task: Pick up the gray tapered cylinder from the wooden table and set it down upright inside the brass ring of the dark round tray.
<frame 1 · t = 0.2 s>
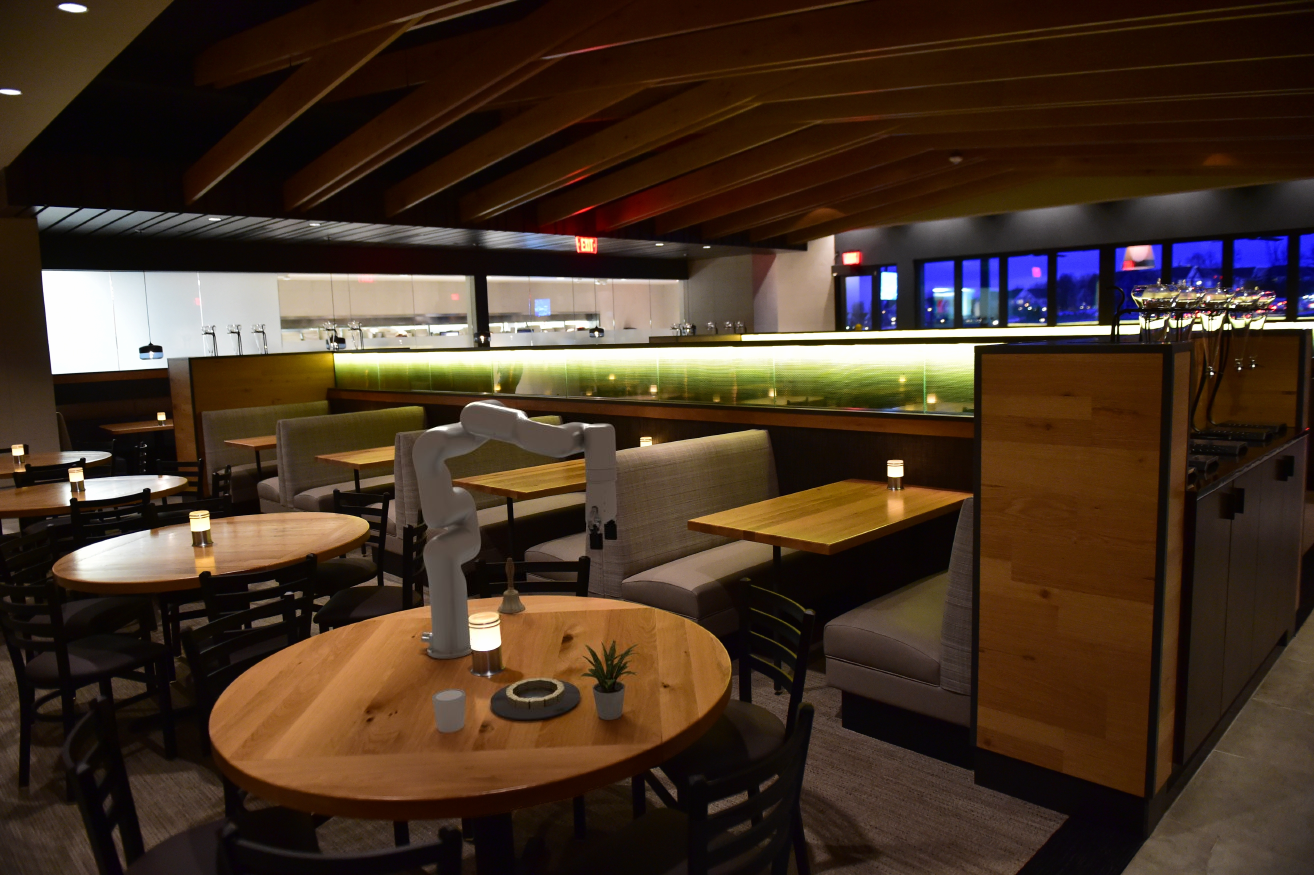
hand: (603, 544, 205), 31 cm above the table, tool pointing down, fingers open, 9 cm apart
gray tapered cylinder: (451, 727, 179), on the table
hand bell: (511, 610, 257), on the table
house plant: (613, 717, 181), on the table
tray: (535, 701, 191), on the table
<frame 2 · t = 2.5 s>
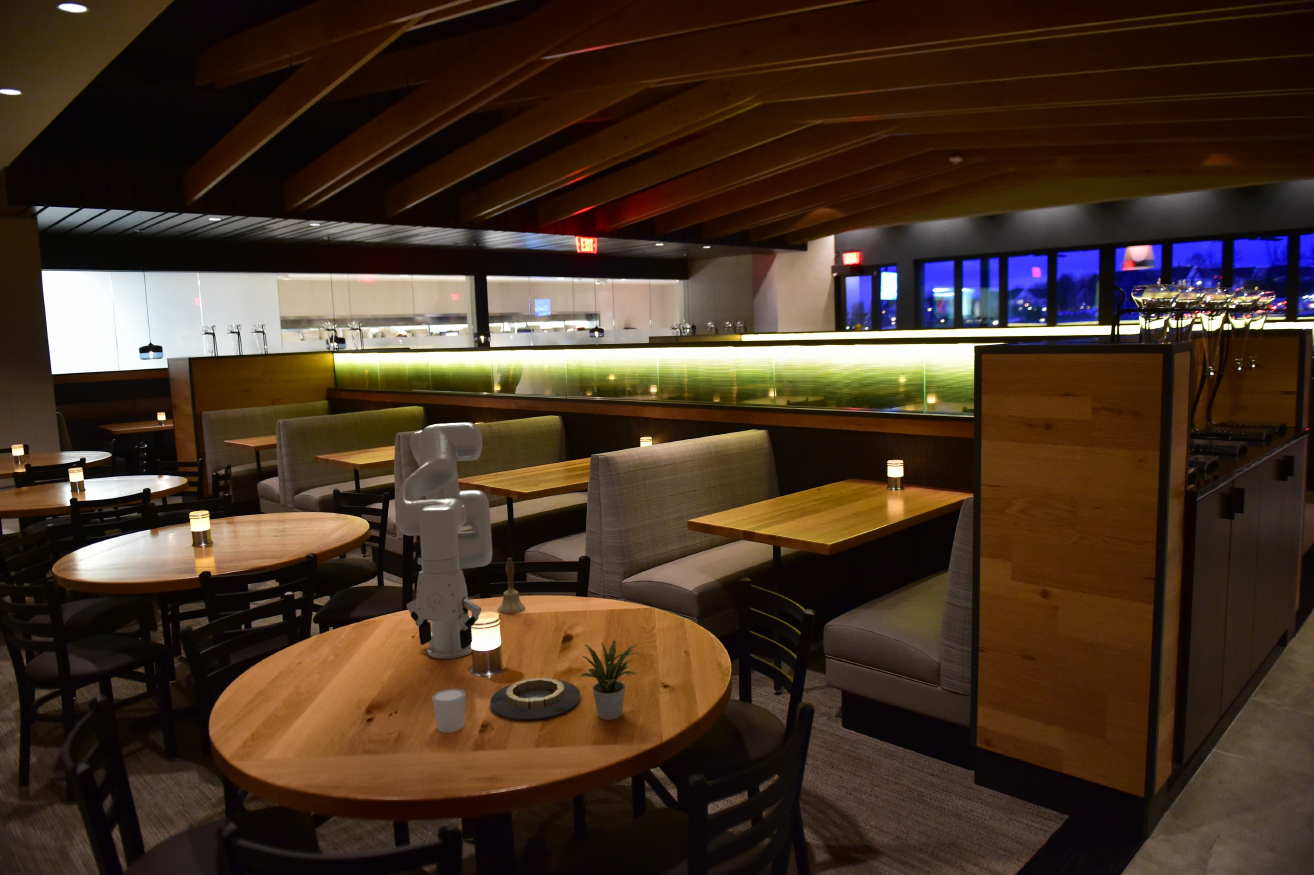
hand: (445, 644, 177), 18 cm above the table, tool pointing down, fingers open, 9 cm apart
nothing on the table moved.
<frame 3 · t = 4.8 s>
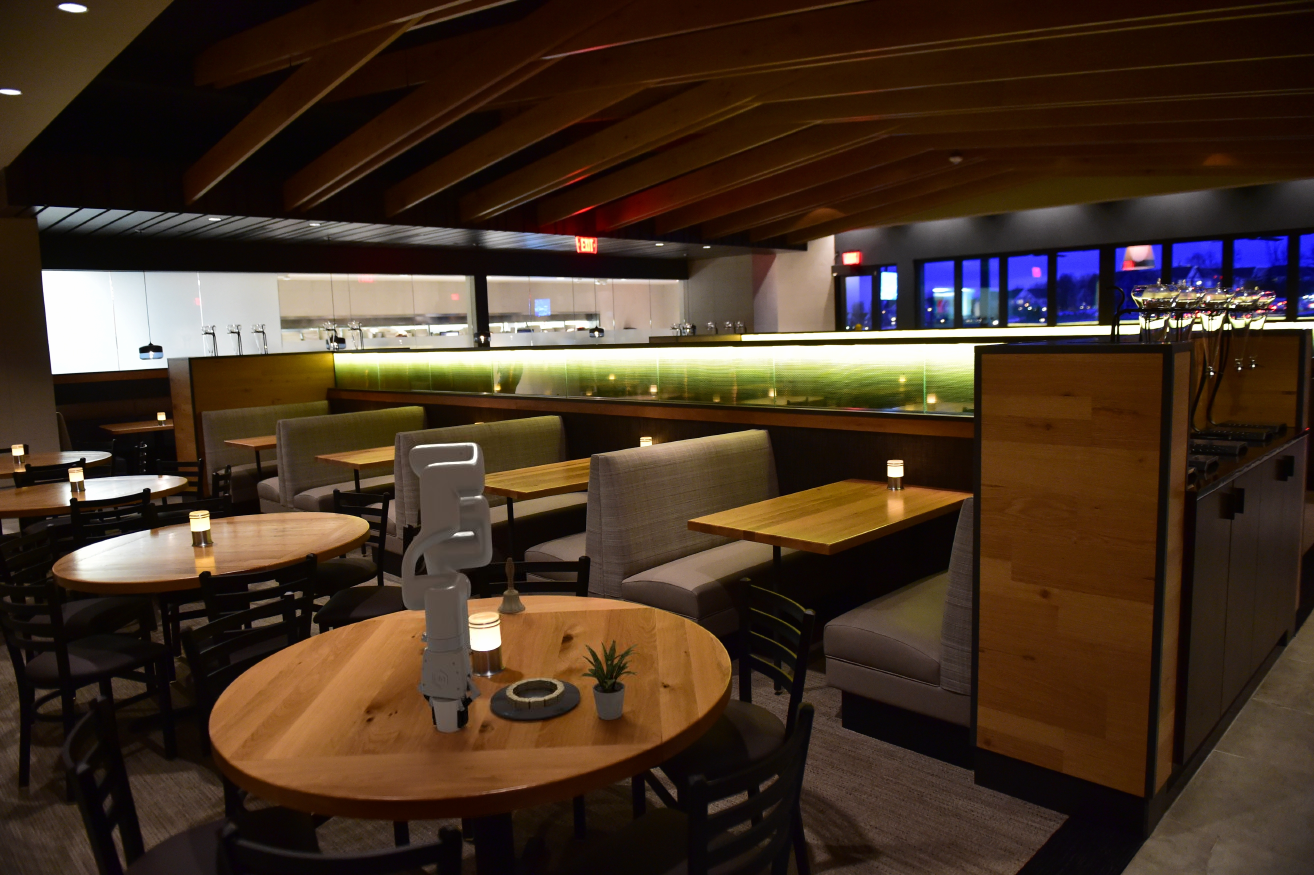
hand: (450, 723, 179), 1 cm above the table, tool pointing down, fingers closed on gray tapered cylinder, 5 cm apart
gray tapered cylinder: (451, 727, 179), on the table, touching gripper
everything else where it was.
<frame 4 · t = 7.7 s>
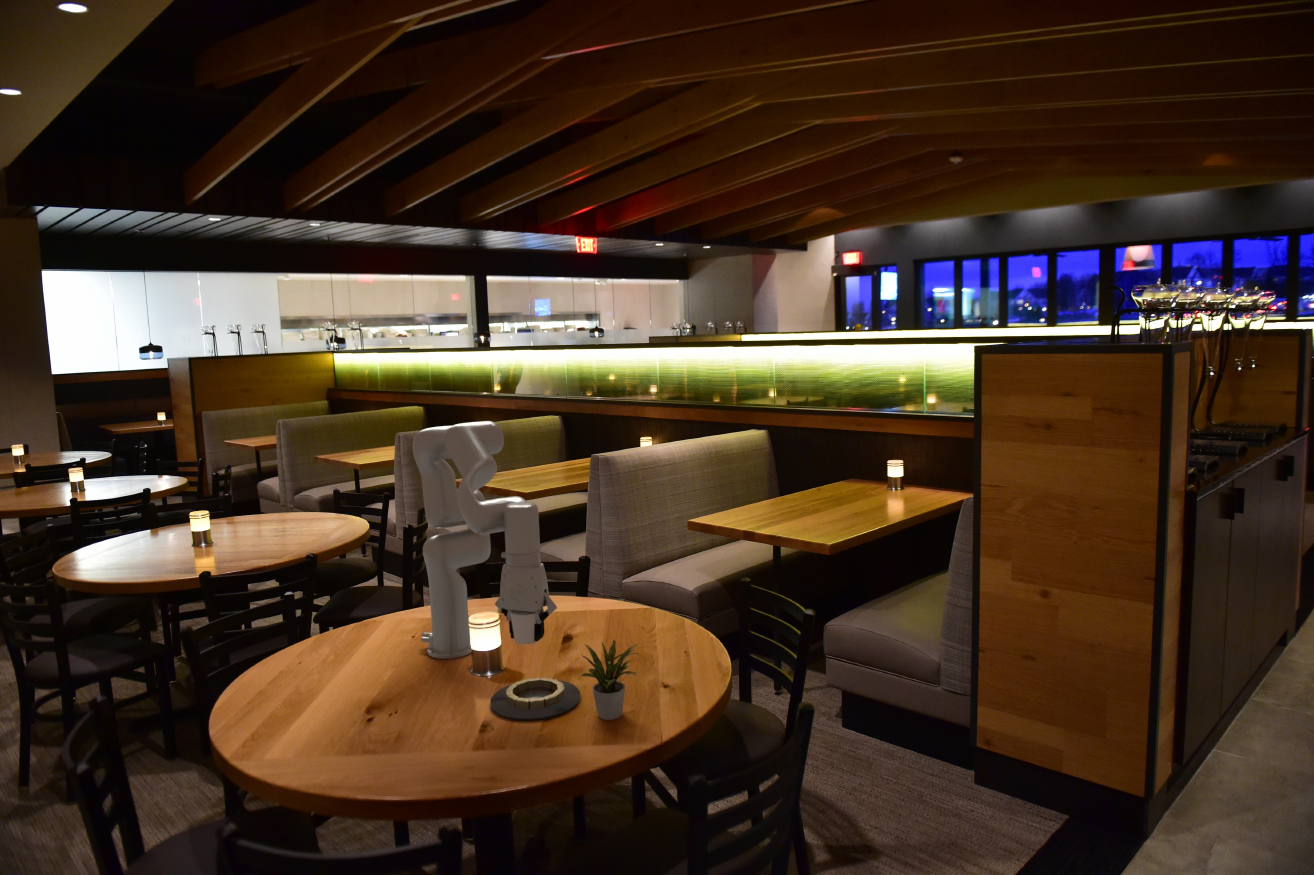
hand: (527, 637, 188), 15 cm above the table, tool pointing down, fingers closed on gray tapered cylinder, 5 cm apart
gray tapered cylinder: (527, 640, 188), point 14 cm above the table, touching gripper
everything else where it was.
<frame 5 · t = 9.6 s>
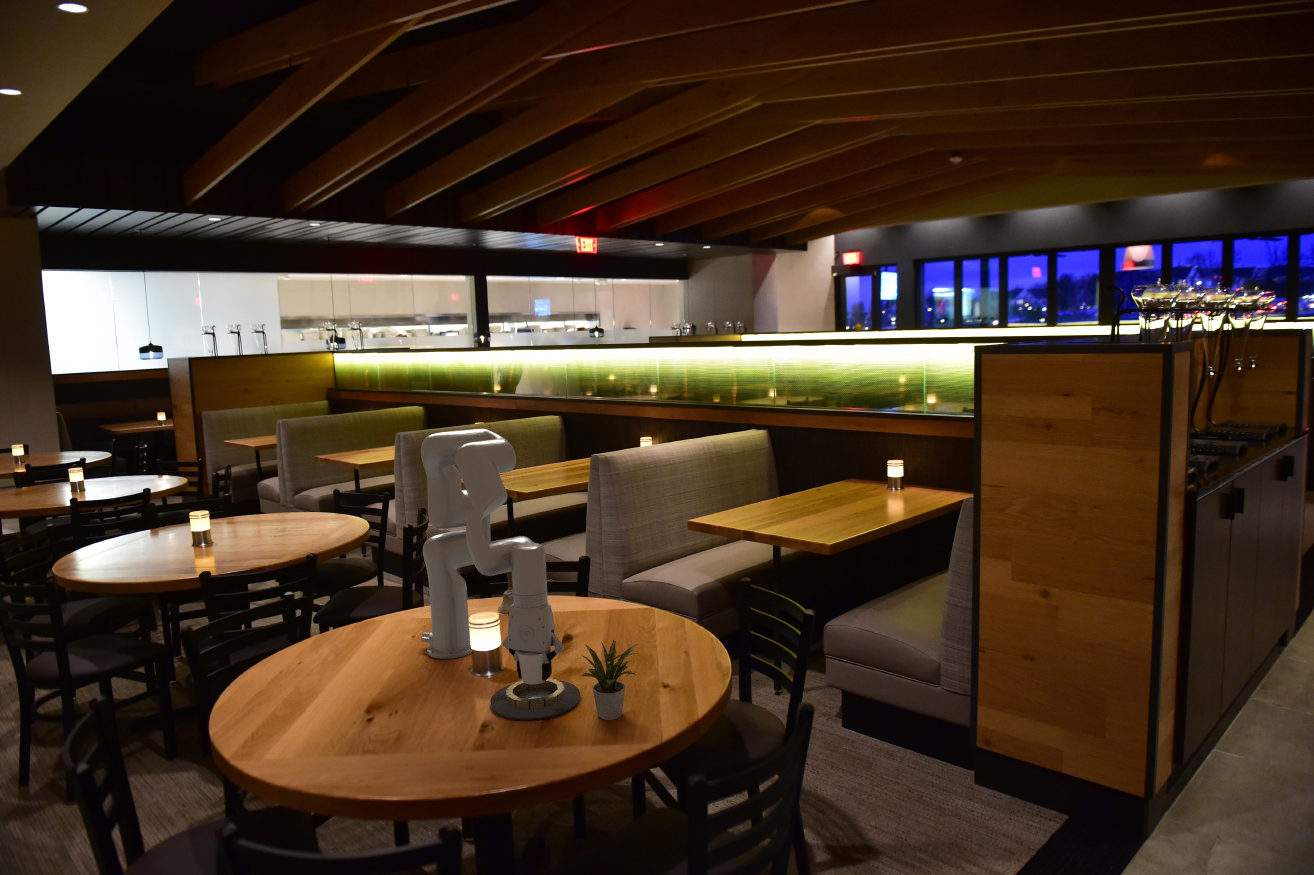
hand: (534, 676, 190), 6 cm above the table, tool pointing down, fingers closed on gray tapered cylinder, 5 cm apart
gray tapered cylinder: (535, 680, 190), point 5 cm above the table, touching gripper
everything else where it was.
when the fingers open (4 cm above the table, at t = 10.6 s): gray tapered cylinder drops 1 cm, resting on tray.
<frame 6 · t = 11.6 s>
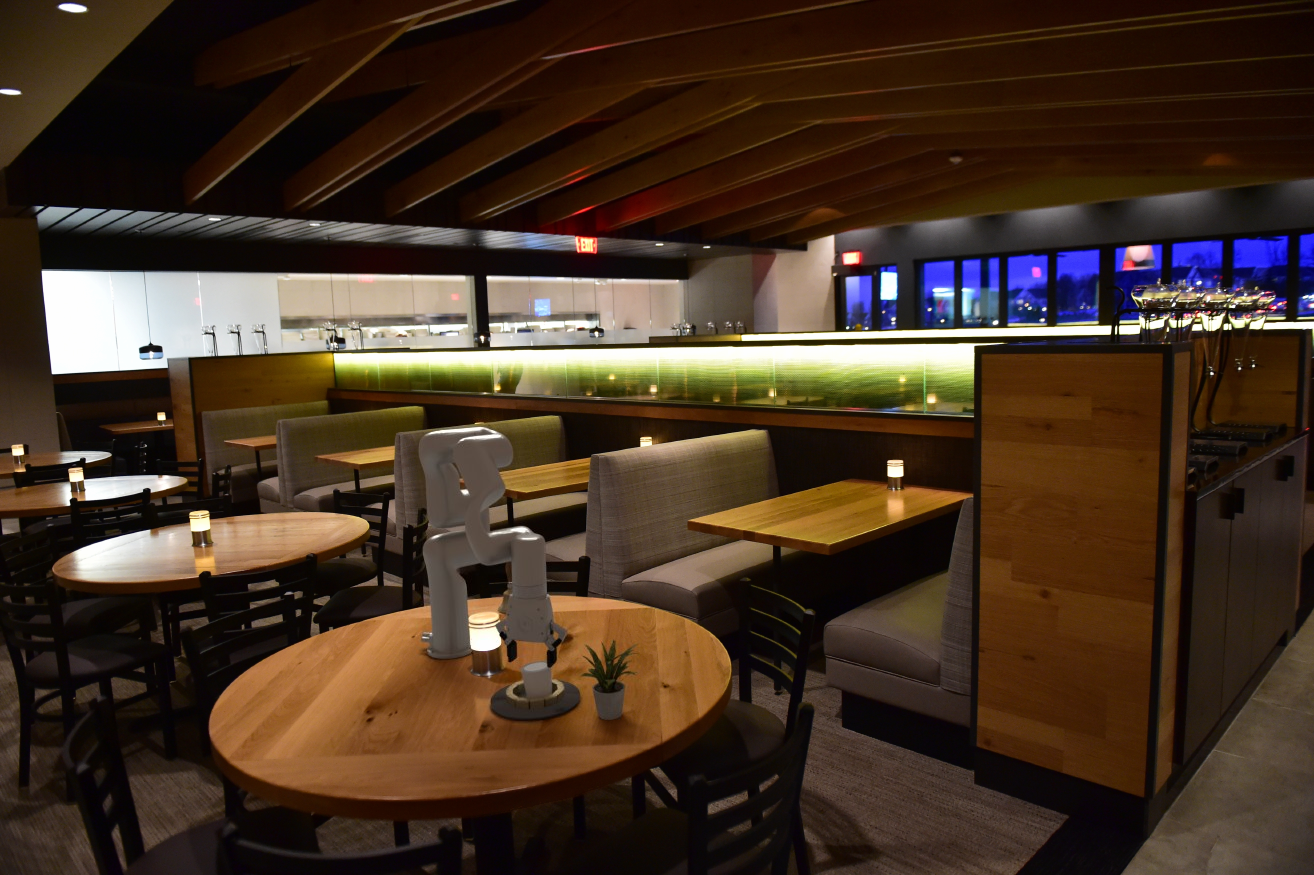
hand: (532, 662, 190), 9 cm above the table, tool pointing down, fingers open, 9 cm apart
gray tapered cylinder: (539, 697, 190), point 1 cm above the table, touching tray
everything else where it was.
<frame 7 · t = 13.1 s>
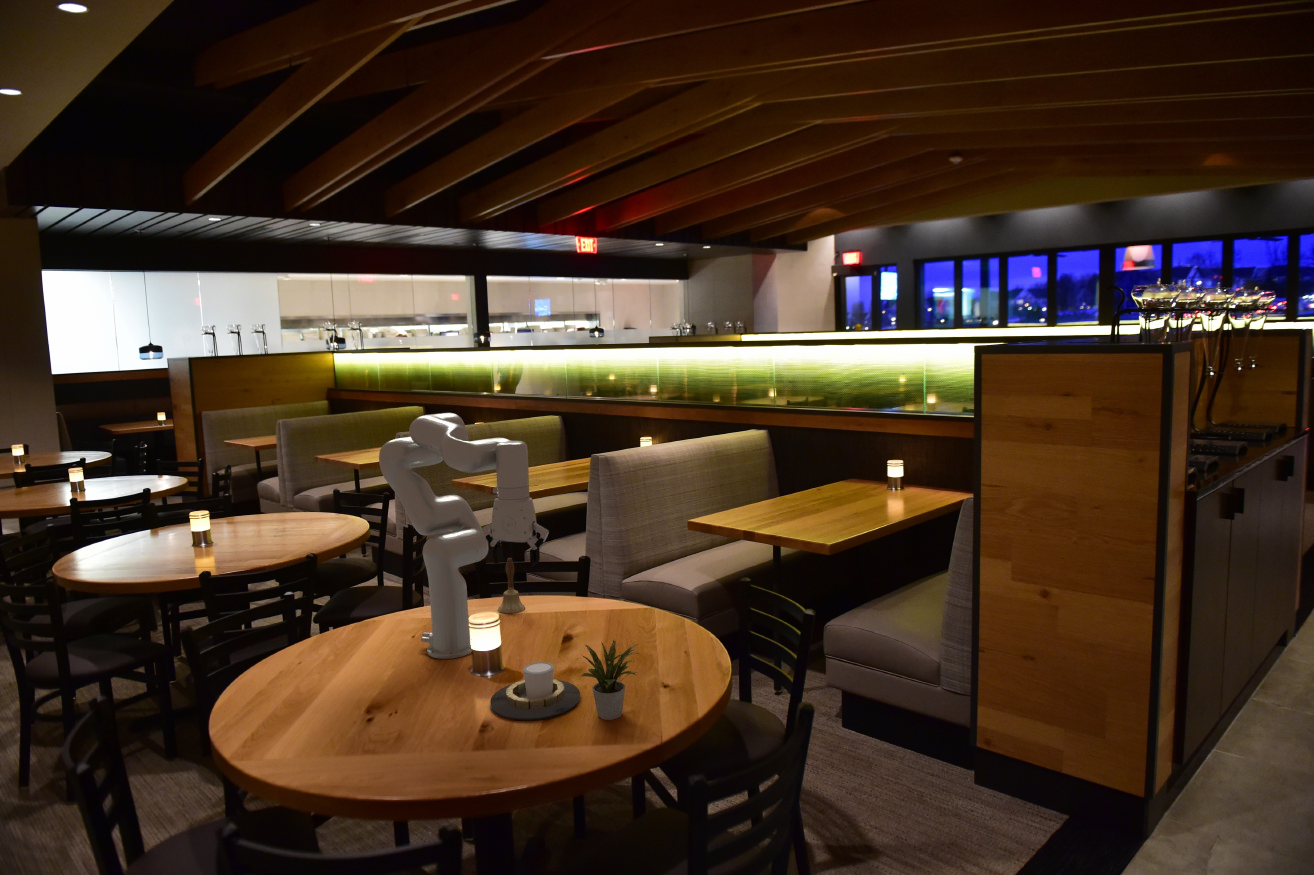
hand: (516, 563, 203), 28 cm above the table, tool pointing down, fingers open, 9 cm apart
nothing on the table moved.
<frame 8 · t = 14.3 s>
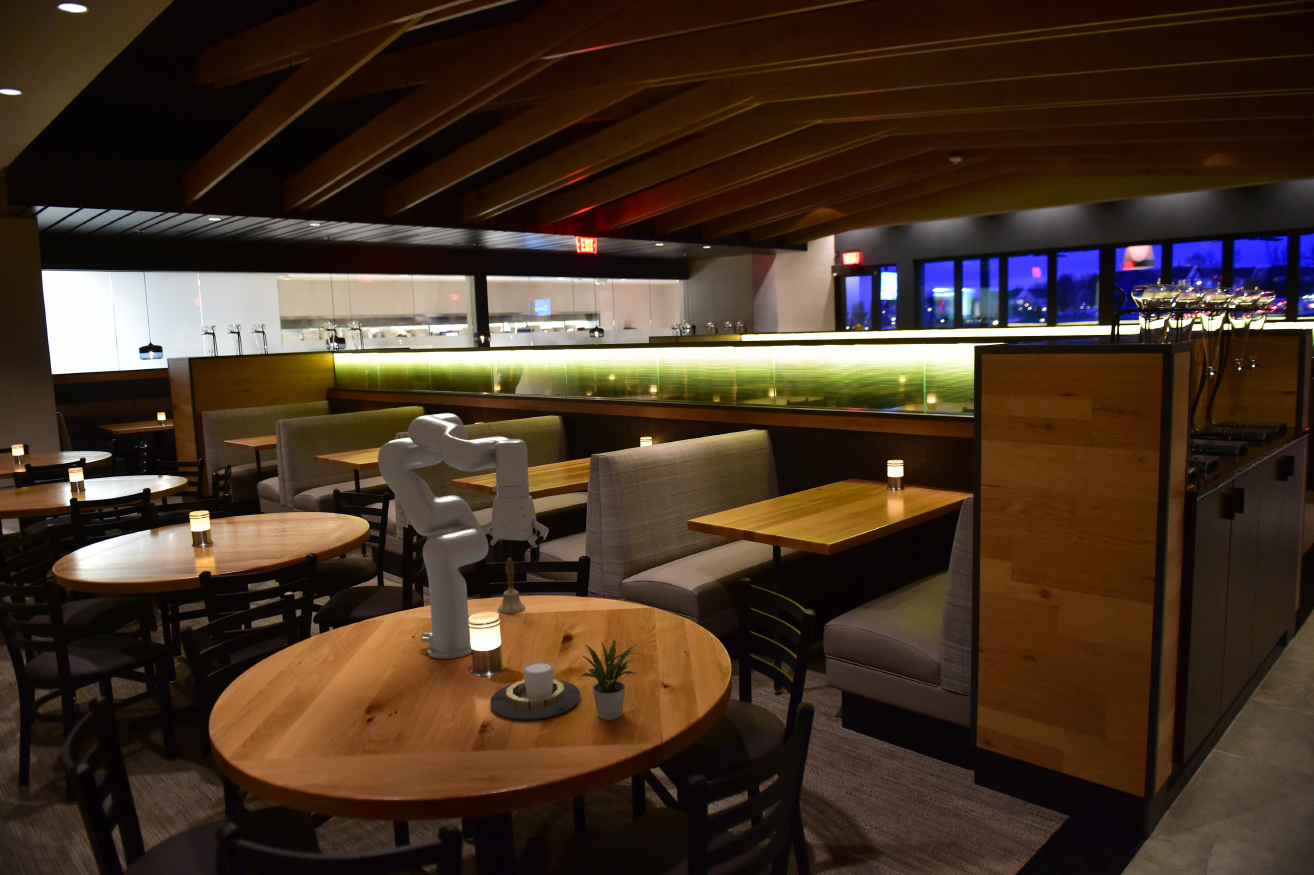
hand: (516, 561, 203), 28 cm above the table, tool pointing down, fingers open, 9 cm apart
nothing on the table moved.
at the end: gray tapered cylinder 1.0 cm off-centre on the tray, point 0.8 cm above the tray's base; gray tapered cylinder tilted 0°; the gripper is holding nothing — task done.
